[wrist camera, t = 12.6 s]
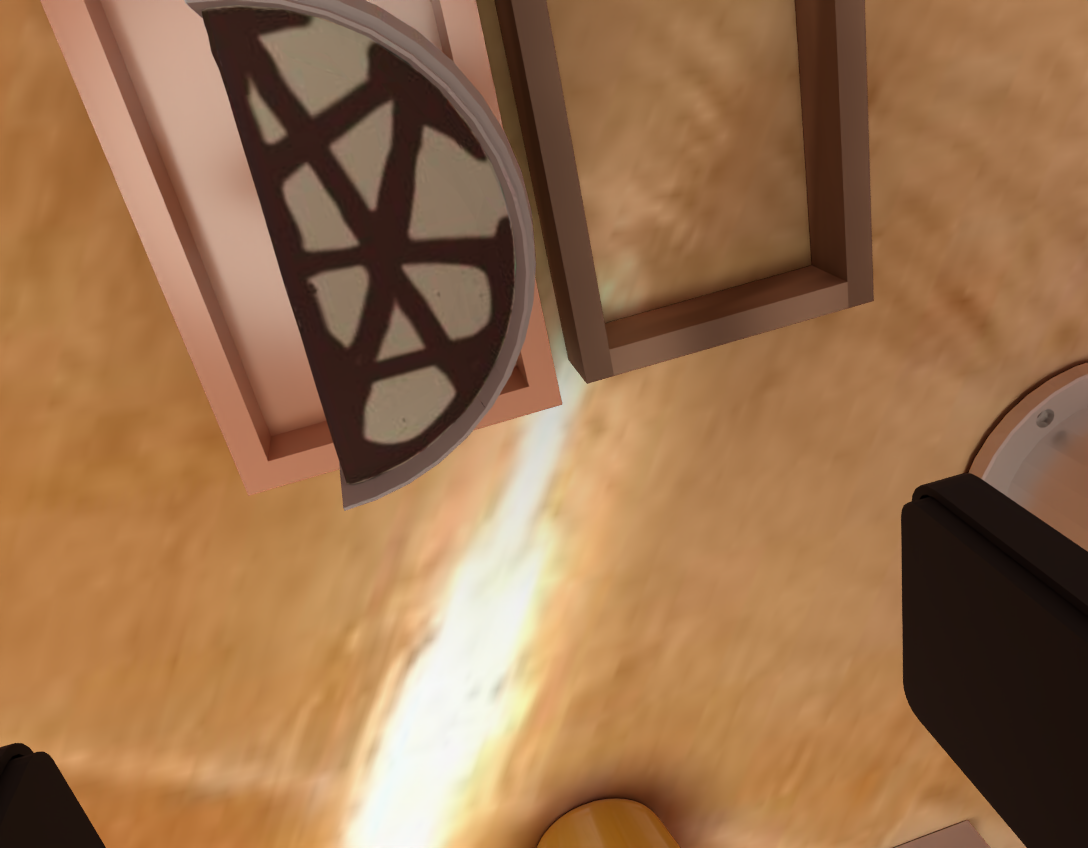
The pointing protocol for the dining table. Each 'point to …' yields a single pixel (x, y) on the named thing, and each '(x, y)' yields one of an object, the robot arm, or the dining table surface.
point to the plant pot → (608, 827)
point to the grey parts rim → (950, 838)
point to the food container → (381, 224)
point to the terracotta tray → (238, 220)
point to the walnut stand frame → (729, 315)
